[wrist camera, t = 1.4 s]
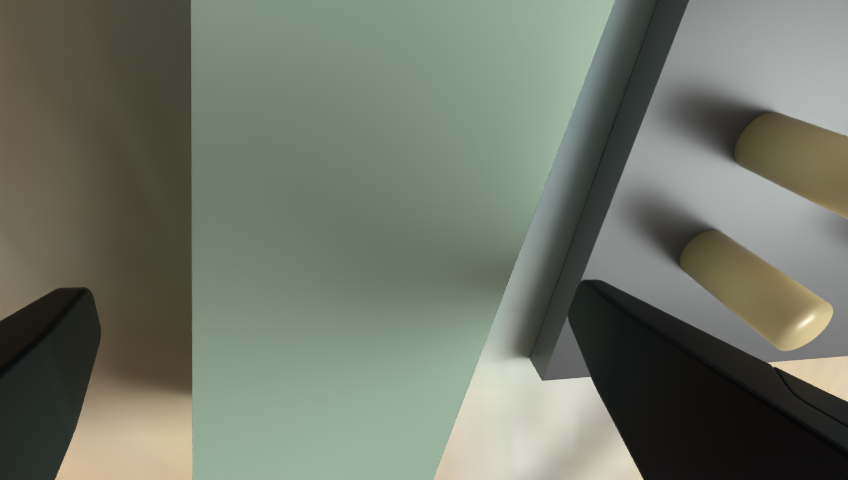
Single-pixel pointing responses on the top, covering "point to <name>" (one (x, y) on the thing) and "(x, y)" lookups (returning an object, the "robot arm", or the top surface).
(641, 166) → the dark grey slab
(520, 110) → the board
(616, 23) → the top surface
